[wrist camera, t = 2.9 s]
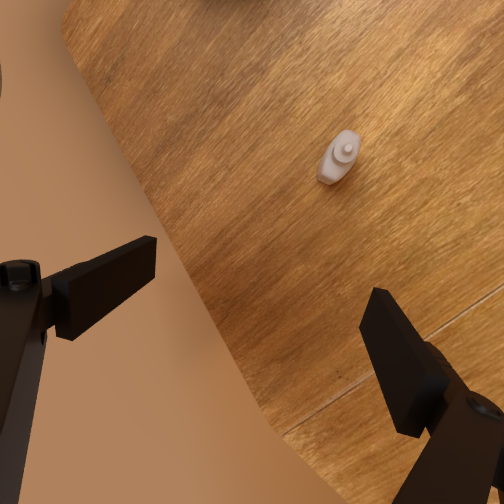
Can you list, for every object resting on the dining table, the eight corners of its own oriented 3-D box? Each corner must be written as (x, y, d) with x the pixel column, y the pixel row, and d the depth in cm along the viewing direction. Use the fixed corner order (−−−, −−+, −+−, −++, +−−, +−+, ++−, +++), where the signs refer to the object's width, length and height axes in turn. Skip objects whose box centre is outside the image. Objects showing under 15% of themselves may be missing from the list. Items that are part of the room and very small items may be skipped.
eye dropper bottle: (306, 163, 37) (310, 147, 26) (342, 137, 36) (362, 108, 24) (323, 189, 38) (334, 185, 26) (359, 164, 36) (388, 148, 25)
